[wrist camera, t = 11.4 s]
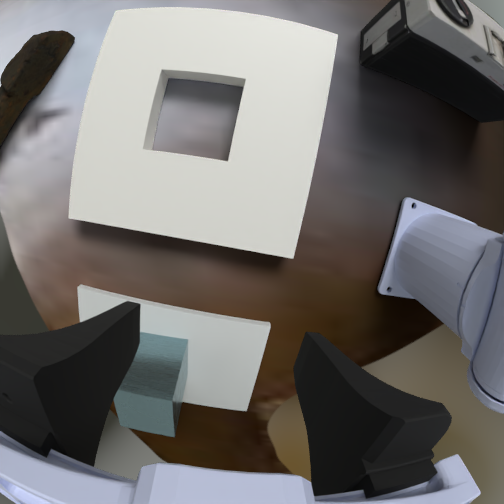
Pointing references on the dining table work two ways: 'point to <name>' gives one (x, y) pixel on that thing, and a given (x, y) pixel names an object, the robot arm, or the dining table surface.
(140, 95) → the plate
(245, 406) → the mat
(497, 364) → the robot arm
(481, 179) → the dining table surface
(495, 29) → the camera
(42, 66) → the dark brown wooden bar
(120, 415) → the teal rectangular block
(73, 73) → the dining table surface
